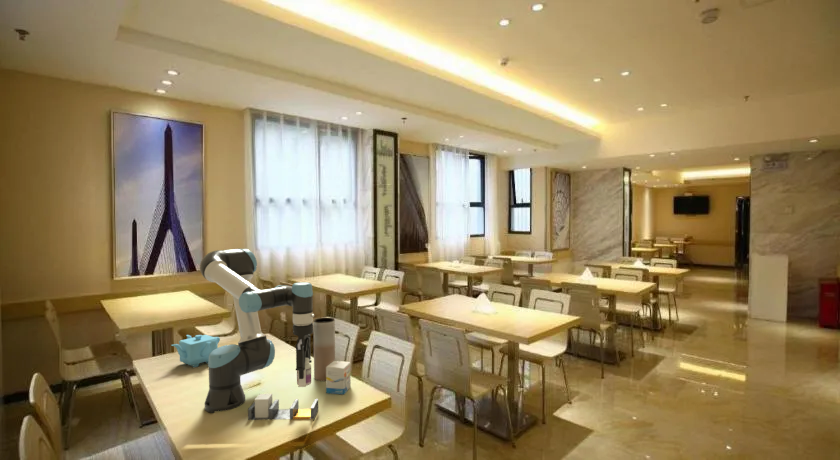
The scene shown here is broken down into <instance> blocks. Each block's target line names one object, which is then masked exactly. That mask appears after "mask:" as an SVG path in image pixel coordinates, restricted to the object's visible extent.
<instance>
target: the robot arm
mask: <svg viewBox="0 0 840 460" xmlns="http://www.w3.org/2000/svg"><path fill="white" fill-rule="evenodd" d="M257 268H258V261H257V258H256V255H255V254H254V252H253V251H251V250H250V249H248V248H233V249H223V250H218V249H217V250H213V251H210V252H208V253H207V254H205V255H204V256H203V257H202V259H201V261H200V264H199V271H200V275H201V276H202V277H203V278H204V279H205V280H207V281H208V282H210V283H215V284H217V285H218V286H219V287H221V288H222V289H223V290H224V291H226V292H227V293H228V294H230V296H232V298H233V299H232V300H233V303H234V305H233V306H234V308H235V315H236V320H237V324H238V330H239V334H240V339H239V341H238V342H237V344H233V343H231V344H225V345H222V346H219V347H218V348H216V349H215V350H213V351H212V352H211V353H210V355H209V362H208V363H207V366H208V391H207V395H206V398H205V402H204V411H206V412H207V413H210V414H214V413H216V412H225V411H230V410H234V409H235V408H238V407H240V406H242V405H243V404H244V403H245V402H246V394H245V392H244V389H243V387H242V385H241V376H244V375H247V374H250V373H253V372H256V371H259V370H260V371H261V370H263V369H265V368H267V367H270V365H272V363H273V362H274V359H275V355H276V349H275V344H274V343H273V341H272V340H271V339H268V338H267V335H266V334H264V333H263V332H262V329H261V327H262V326H261V323H260V318H259V317H260V316H259V313H258V312H260V311H264V310H268V309H274V308H280V307H284V306H288V307H291V308H292V324H293V325H292V334H293V335H294V336H297V340H296V344H295V361H296V363H295V365H296V366H295V367H296V368H295V371H297V370H298V385H297V386H298V388H306V387H307V386H306V369H305V358H309V363H310V364H311V363H312V362H313V361H312V360H311V359H312V357H311V356H312V355H311V334H312V335H313V334H314V326H313V321H314V317H315V313H314V312H313V311H314V310H313V309H314V299H313V297H314V292H313V285H312V283H310V282H305V281H304V282H303V281H302V282H300V281H299V282H294V283H293V284H292V286H291V285H286V284H280V285H276V286H274V287H270V288H264V289H260V288H259V287H257V286H256V285H254V284H253V283H252V279H253V277H254V276H255V275H254V273H255V272H256V271H257Z"/></svg>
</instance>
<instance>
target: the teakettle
mask: <svg viewBox="0 0 840 460" xmlns="http://www.w3.org/2000/svg"><path fill="white" fill-rule="evenodd" d="M220 340H221V338H220V337H219V336H211V335H209V334H203V335H202V334H196V335H194V336H193V337H192V335H190V334H186V339H181V340H178V343H179V344H178V343H175V344H171V346H172V347H175V349H176V350H177V353H178V355H179V362H181V363H184V364H185V365H186V364H188V365H187V366H191V367H192V368H198V367H199V366H200V364H202V363H206V364H208V362H209V355H210V353H211V352H212V351H213V350H215V349H216V348H219V347H218V345H219V343H220Z"/></svg>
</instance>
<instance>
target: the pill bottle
mask: <svg viewBox="0 0 840 460" xmlns="http://www.w3.org/2000/svg"><path fill="white" fill-rule="evenodd" d="M305 369H306V387H307V386H310V385H311V383H312V364H311V363H309V358H305ZM296 383H297V386H298V370H296Z"/></svg>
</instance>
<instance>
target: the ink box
mask: <svg viewBox="0 0 840 460" xmlns="http://www.w3.org/2000/svg"><path fill="white" fill-rule="evenodd" d="M351 383H352V382H351V362H350V361H344V360H335V361H333V362H332V363H331V364H329V365H328V366H327V367H326V381H325V384H326V385H325V391H326V392H325V393H326V394H332V395H346V393H347V392H348V390H350V389H351Z"/></svg>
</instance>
